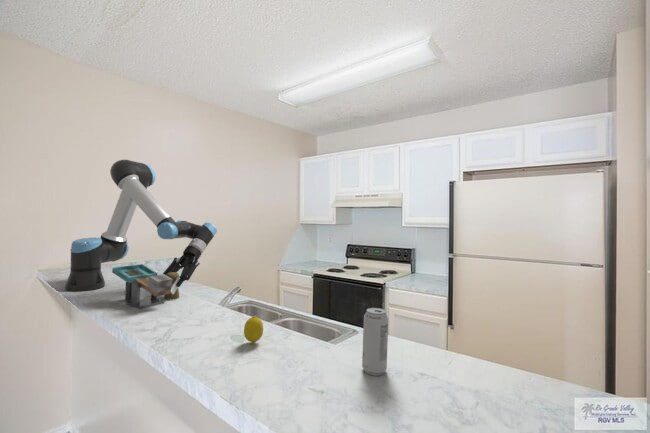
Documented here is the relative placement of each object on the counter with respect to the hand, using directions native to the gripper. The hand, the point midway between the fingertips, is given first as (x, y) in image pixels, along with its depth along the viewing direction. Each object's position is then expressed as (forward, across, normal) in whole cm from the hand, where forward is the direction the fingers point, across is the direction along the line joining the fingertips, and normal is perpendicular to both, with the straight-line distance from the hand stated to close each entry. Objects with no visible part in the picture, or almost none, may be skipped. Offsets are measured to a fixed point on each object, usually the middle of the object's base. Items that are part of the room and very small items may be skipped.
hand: (165, 291), depth 137 cm
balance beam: (+3, -3, -9) cm, 9 cm away
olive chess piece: (0, 0, +5) cm, 5 cm away
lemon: (+19, +60, -14) cm, 64 cm away
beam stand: (+8, -4, -3) cm, 10 cm away
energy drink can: (+20, +96, -14) cm, 99 cm away
